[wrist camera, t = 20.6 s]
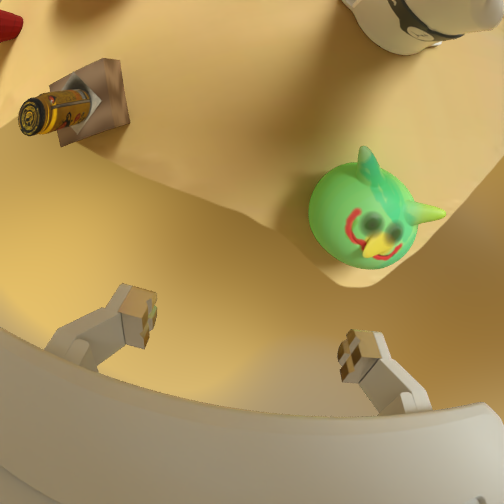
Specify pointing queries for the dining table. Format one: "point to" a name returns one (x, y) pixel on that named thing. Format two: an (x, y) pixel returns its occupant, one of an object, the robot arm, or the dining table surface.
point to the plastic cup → (9, 25)
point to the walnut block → (110, 93)
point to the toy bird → (366, 214)
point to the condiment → (59, 109)
